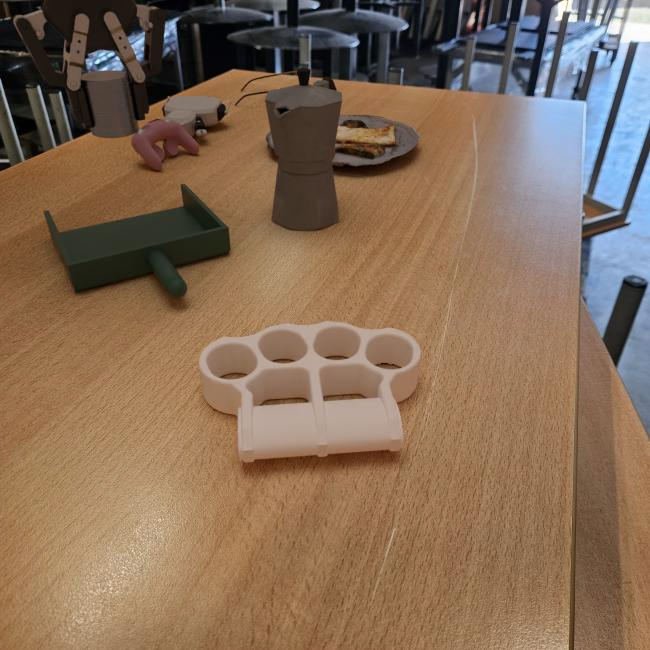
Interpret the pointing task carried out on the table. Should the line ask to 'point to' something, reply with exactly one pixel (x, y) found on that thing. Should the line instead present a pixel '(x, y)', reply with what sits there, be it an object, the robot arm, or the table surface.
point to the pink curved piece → (171, 139)
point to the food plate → (368, 140)
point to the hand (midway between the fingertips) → (113, 121)
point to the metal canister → (110, 103)
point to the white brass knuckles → (312, 388)
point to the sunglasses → (260, 78)
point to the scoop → (142, 245)
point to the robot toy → (194, 112)
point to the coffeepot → (304, 152)
